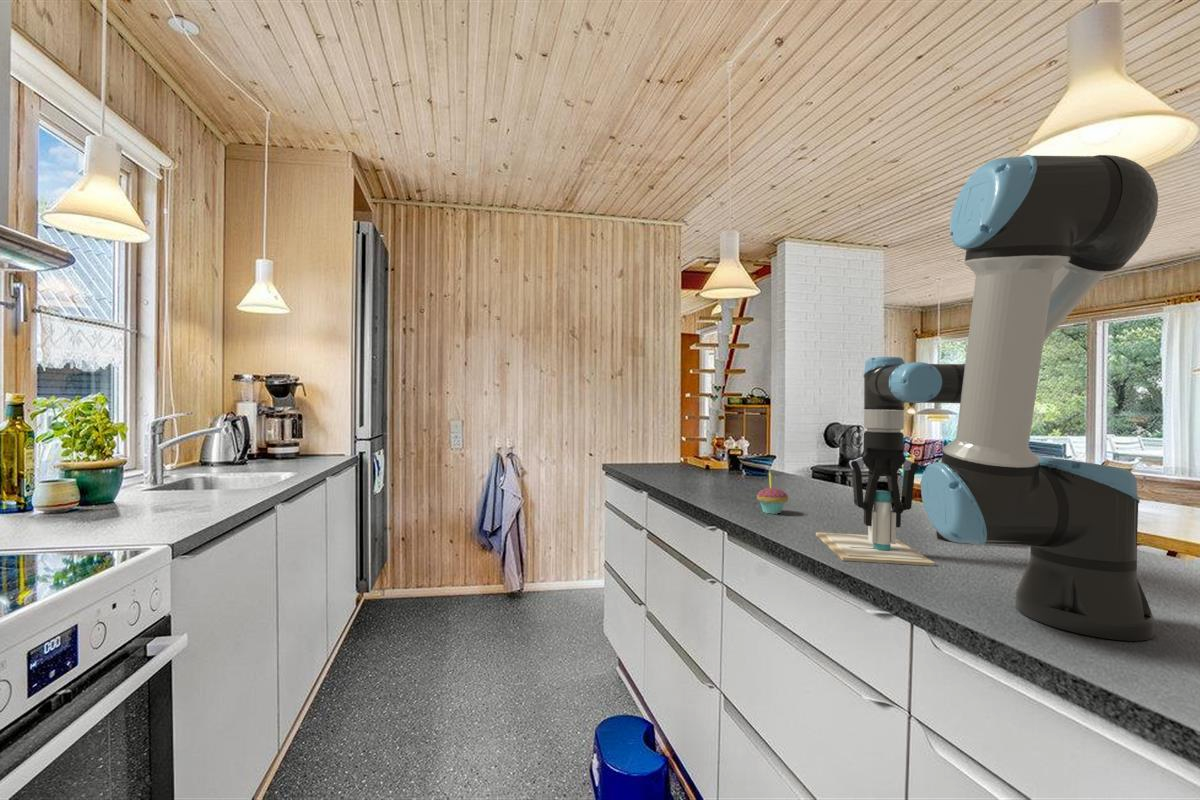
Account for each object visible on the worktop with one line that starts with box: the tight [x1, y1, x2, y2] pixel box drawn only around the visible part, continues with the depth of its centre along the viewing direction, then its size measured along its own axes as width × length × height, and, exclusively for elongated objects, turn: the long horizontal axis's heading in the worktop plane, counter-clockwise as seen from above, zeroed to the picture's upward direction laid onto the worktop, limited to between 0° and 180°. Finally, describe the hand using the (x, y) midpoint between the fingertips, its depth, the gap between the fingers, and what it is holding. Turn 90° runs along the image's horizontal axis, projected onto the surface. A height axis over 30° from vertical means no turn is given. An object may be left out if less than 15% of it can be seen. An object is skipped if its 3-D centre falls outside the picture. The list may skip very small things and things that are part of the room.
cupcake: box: [756, 471, 789, 515], centre depth 156 cm, size 9×8×12 cm
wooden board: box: [815, 531, 936, 567], centre depth 118 cm, size 22×17×1 cm
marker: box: [873, 489, 892, 551], centre depth 115 cm, size 3×3×12 cm
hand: (881, 541), depth 115 cm, fingers closed on marker, 3 cm apart
